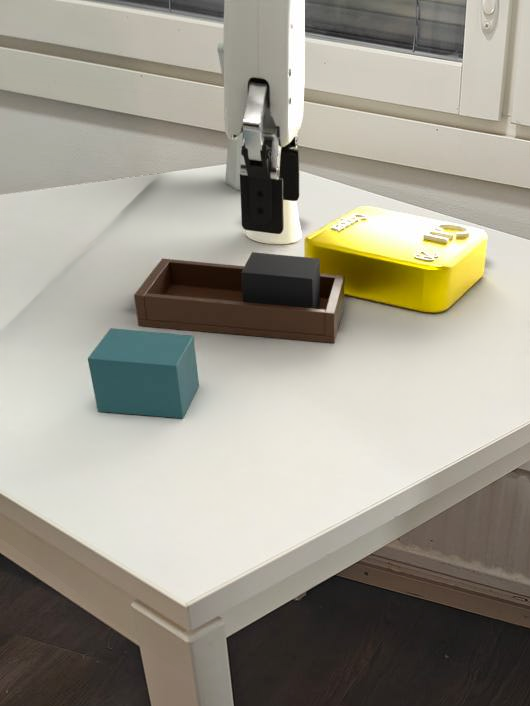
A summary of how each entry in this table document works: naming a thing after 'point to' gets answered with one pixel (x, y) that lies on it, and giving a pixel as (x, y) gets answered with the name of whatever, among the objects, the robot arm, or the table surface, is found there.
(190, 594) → the table surface
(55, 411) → the table surface
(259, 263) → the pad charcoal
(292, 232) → the cosmetic bottle
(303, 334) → the tray
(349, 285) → the element tile
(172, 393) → the teal block
